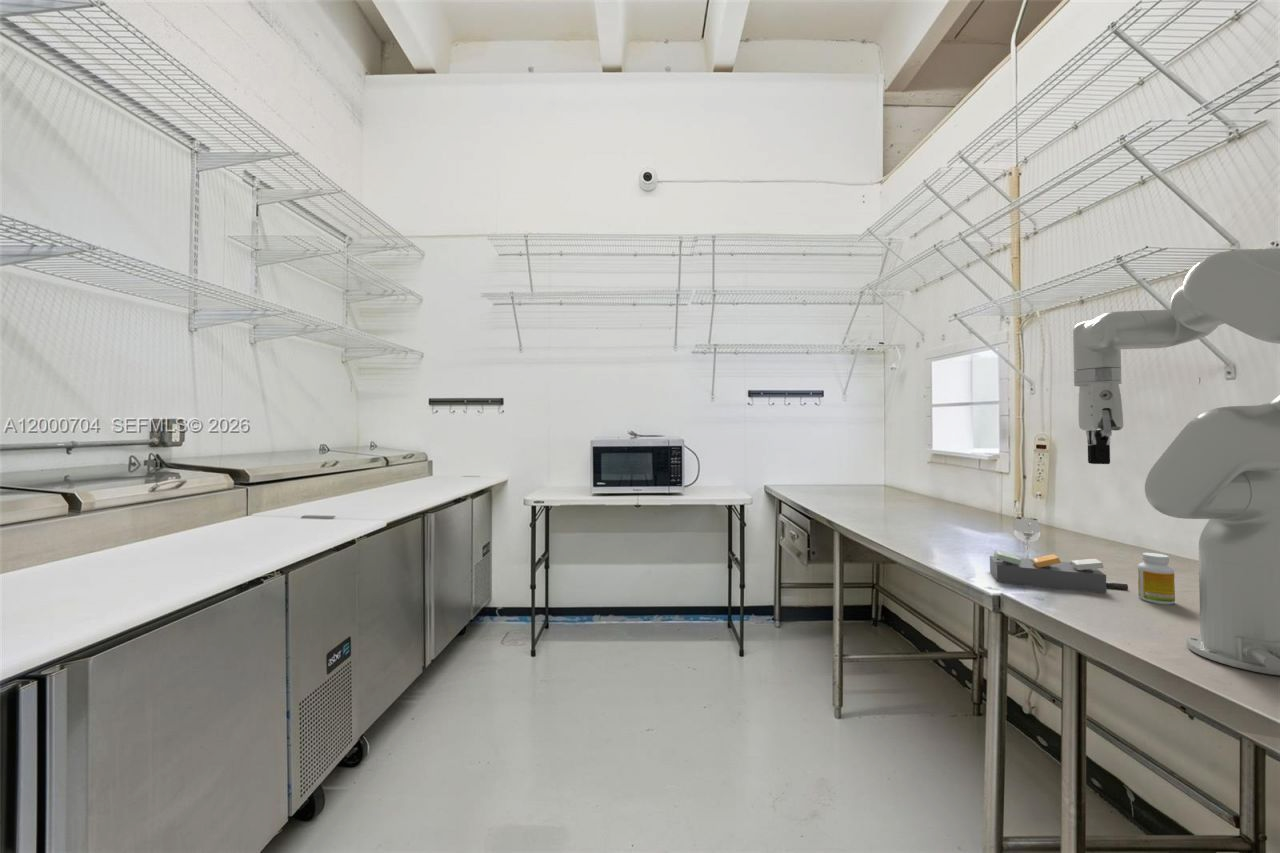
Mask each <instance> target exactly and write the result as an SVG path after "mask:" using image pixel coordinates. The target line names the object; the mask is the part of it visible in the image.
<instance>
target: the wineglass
mask: <svg viewBox="0 0 1280 853" xmlns="http://www.w3.org/2000/svg"><path fill="white" fill-rule="evenodd" d="M1013 534H1014V536H1015V538H1016V539H1018V540H1019V541H1021V542H1025V544H1024V547H1025V552H1026V555H1025V559H1030V557H1029V549H1030V544H1029V543H1033V542H1036V541H1038V540H1039V539H1040V538H1041V526H1040V524H1039V520H1038V519H1037V518H1034V517H1026V516H1025V517H1023V516H1021V517H1020V516H1018V517H1015V519H1014V524H1013Z"/></svg>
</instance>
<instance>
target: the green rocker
mask: <svg viewBox="0 0 1280 853" xmlns="http://www.w3.org/2000/svg"><path fill="white" fill-rule="evenodd" d="M993 556H995V557H996V559H999V560H1003V561H1007V562H1010V563H1014V564H1018V565H1020V562H1021V560H1020V559H1019V558H1020V557H1018V556H1017V555H1013V554H1010V553H1006V552H1002V551H998V550H994V554H993Z"/></svg>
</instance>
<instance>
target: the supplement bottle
mask: <svg viewBox="0 0 1280 853" xmlns="http://www.w3.org/2000/svg"><path fill="white" fill-rule="evenodd" d="M1141 559H1142V561H1143V562H1139V564H1138V565H1137V566H1138V567H1137V579H1138V580H1137V584H1138V586H1137V587H1138V590H1137V591H1138V598H1139V599H1141V600H1142V601H1146V602H1149V603H1154V604H1159V605H1174V604H1175V603H1176V597H1175V596H1176V593H1175V592H1176V591H1175V569H1174V568H1173V567H1172V566H1170V565H1168V564H1170V556H1169V555H1166V554H1162V553H1155V552H1143V553H1142V555H1141Z"/></svg>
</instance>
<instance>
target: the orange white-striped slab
mask: <svg viewBox="0 0 1280 853" xmlns="http://www.w3.org/2000/svg"><path fill="white" fill-rule="evenodd" d="M1031 559H1032V561H1033V564H1034V565H1035V566H1036V567H1038V568H1040V567H1044V566H1049V565H1053V564H1058V563H1061V562H1062V561H1061V560H1060V558H1059V556H1057V555H1056V554H1054V553H1053V554H1047V555H1043V556H1038V557H1034V558H1031Z"/></svg>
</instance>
